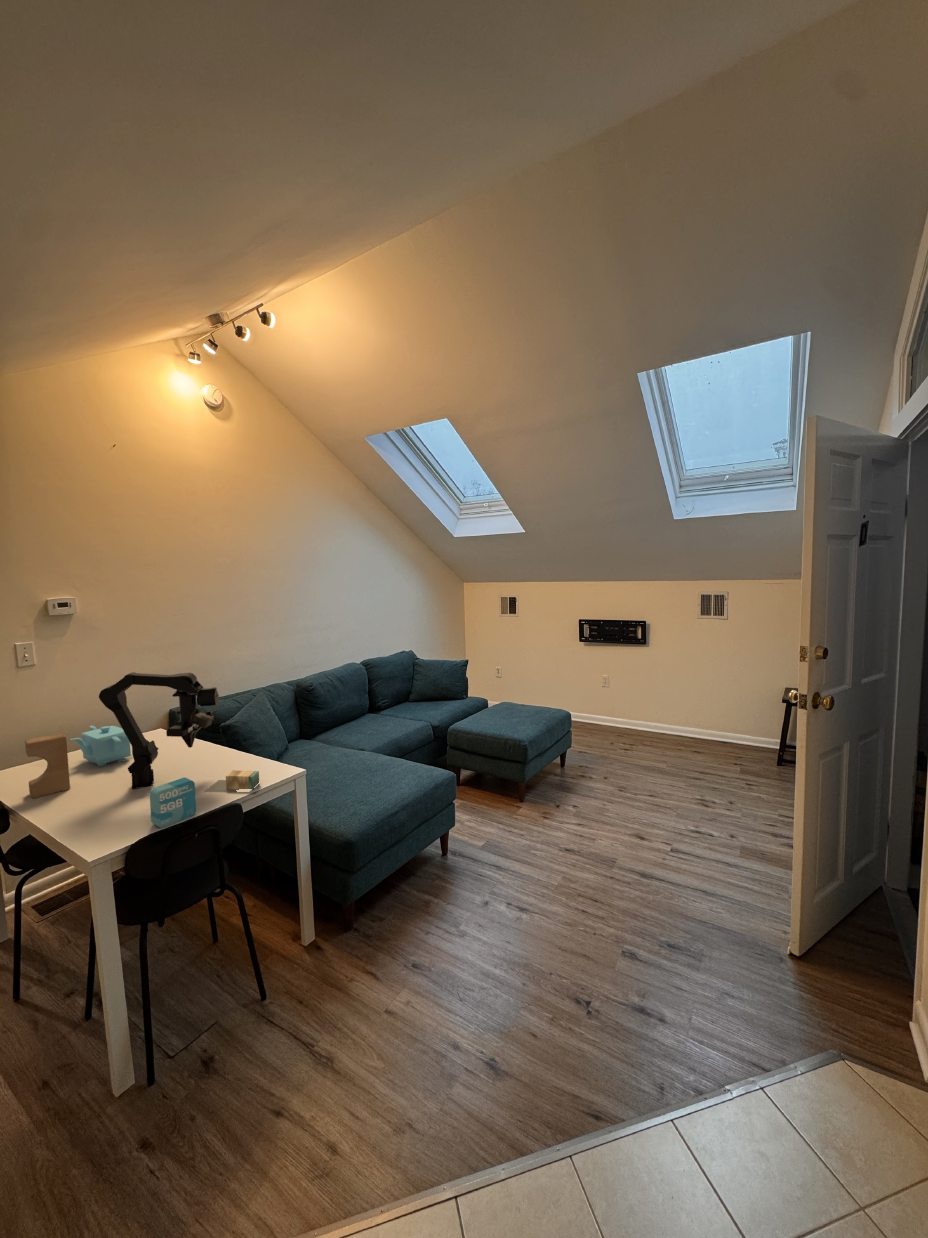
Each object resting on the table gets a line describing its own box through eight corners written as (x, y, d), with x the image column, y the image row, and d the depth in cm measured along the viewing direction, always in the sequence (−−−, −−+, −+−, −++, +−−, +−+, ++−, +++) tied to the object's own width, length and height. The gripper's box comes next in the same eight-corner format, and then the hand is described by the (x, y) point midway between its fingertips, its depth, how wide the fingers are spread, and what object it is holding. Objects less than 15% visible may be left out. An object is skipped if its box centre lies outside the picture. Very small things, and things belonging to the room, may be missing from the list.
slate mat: (203, 792, 184) (203, 791, 184) (219, 781, 194) (218, 780, 194) (249, 794, 183) (249, 793, 183) (262, 782, 193) (262, 781, 193)
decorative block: (30, 799, 179) (25, 743, 177) (29, 793, 183) (24, 739, 181) (70, 789, 186) (66, 736, 184) (68, 784, 190) (64, 732, 188)
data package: (158, 829, 158) (155, 792, 157) (151, 825, 161) (148, 789, 159) (196, 814, 168) (194, 779, 167) (189, 810, 171) (187, 776, 169)
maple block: (225, 775, 185) (252, 776, 185) (232, 770, 190) (258, 771, 190) (226, 789, 186) (252, 790, 185) (233, 783, 191) (259, 784, 190)
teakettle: (122, 767, 207) (120, 732, 205) (69, 771, 202) (66, 735, 201) (140, 751, 225) (138, 718, 224) (92, 754, 221) (90, 721, 219)
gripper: (194, 714, 182) (196, 757, 183) (222, 700, 200) (224, 739, 202) (164, 714, 182) (166, 756, 184) (194, 700, 201) (196, 738, 203)
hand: (190, 747), depth 193 cm, fingers closed
